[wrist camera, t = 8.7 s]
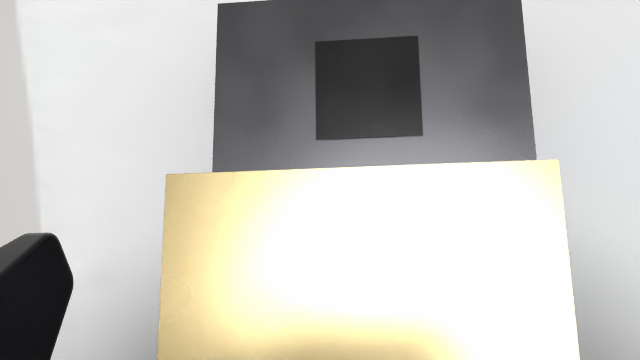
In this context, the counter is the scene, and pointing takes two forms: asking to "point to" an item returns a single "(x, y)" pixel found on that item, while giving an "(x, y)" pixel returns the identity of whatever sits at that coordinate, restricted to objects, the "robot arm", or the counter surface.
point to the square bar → (368, 264)
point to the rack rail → (370, 84)
